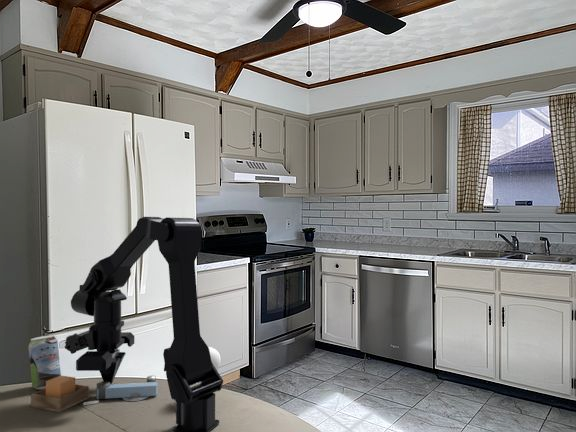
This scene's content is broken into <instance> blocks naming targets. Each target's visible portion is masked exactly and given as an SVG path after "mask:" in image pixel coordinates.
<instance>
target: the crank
mask: <svg viewBox="0 0 576 432" xmlns="http://www.w3.org/2000/svg"><path fill="white" fill-rule="evenodd" d="M95 389H96V394H95V395H96V397H95V398H96V399H97V400H106V399H119V398H121V399H122V398H124V397H132V398H136V397H142V396H149V397H156V396H157V395H158V394H159V393H158V392H159V381H156V382H147V381H146V382H134V383H131V382H130V383H115V384H113V383H112V384H110V382H109V381H103V380H102V381H100V382H97V383H96V388H95Z"/></svg>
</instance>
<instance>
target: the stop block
mask: <svg viewBox="0 0 576 432" xmlns="http://www.w3.org/2000/svg"><path fill="white" fill-rule="evenodd" d="M75 384H76V377H74V376H67V375H61V376H59V377H56V378H54V379H51V380H48V381H46V388H45V389H46V396H49V397H55V398H61V397H64V396H66V395H68V394H70V393H73V392H75Z"/></svg>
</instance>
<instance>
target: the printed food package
mask: <svg viewBox="0 0 576 432" xmlns="http://www.w3.org/2000/svg"><path fill="white" fill-rule="evenodd" d="M59 353H60V352H59V343H58V339H57V338H56V336H55V335H54V334H48V335H42V336H37V337H34V338H30V342H29V344H28V355H29V365H30V377H31V387H32V388H34V389H35V390H43V389H46V381H48V380H51V379H54V378H56V377H59V376H62V375H61V374H62V372H61V363H60V354H59Z"/></svg>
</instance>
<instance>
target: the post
mask: <svg viewBox="0 0 576 432" xmlns="http://www.w3.org/2000/svg"><path fill="white" fill-rule="evenodd" d="M156 379H157V377H156V375H148V376H146V383H147V382H157V381H156Z"/></svg>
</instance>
